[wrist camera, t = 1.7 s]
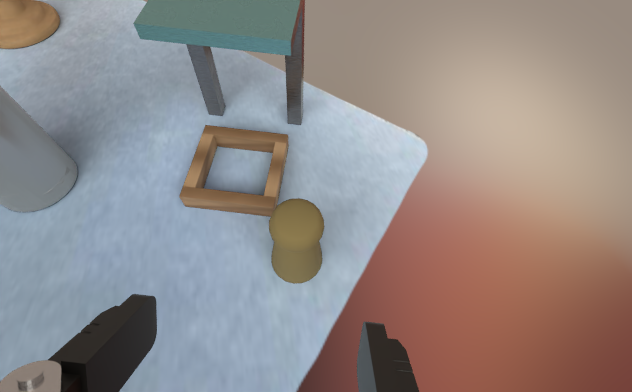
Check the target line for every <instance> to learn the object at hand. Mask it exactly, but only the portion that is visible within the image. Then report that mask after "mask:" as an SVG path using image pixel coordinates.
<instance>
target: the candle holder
mask: <svg viewBox="0 0 632 392" xmlns="http://www.w3.org/2000/svg"><path fill="white" fill-rule="evenodd" d="M59 23H60V18H59V15H58V13H57V11H56V10H55V9H54V8H53V7H52V6H50V5H49V4H47V3H44V2H41V1H35V0H0V48H4V49H14V48H22V47H27V46H30V45H33V44H36V43H38V42H40V41H43V40H44V39H46V38H48V37H49V36H50V35H52V34H53V33H54V32H55V31H56V29H57V28H58V26H59Z"/></svg>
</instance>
